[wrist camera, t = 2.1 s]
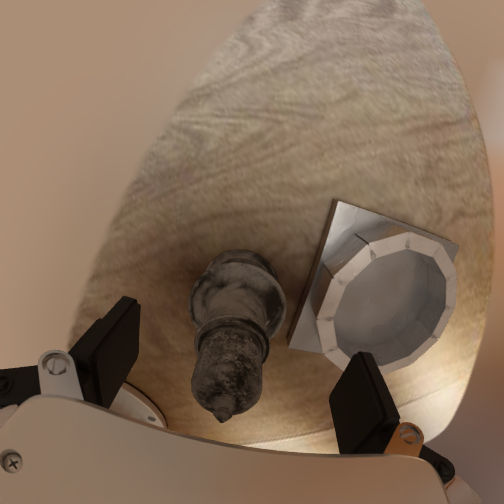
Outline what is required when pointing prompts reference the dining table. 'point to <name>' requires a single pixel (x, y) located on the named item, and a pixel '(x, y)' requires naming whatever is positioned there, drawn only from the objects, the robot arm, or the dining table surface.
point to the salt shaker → (233, 330)
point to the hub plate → (375, 290)
